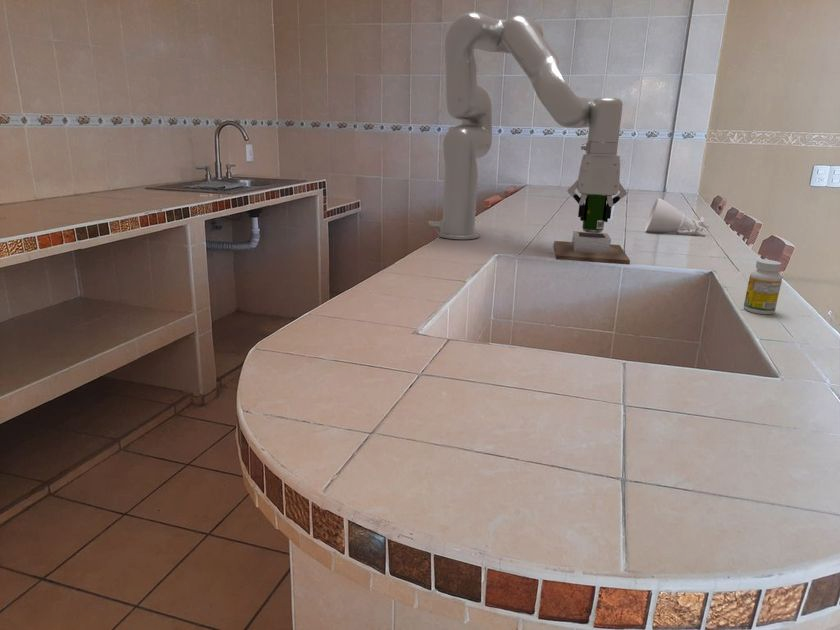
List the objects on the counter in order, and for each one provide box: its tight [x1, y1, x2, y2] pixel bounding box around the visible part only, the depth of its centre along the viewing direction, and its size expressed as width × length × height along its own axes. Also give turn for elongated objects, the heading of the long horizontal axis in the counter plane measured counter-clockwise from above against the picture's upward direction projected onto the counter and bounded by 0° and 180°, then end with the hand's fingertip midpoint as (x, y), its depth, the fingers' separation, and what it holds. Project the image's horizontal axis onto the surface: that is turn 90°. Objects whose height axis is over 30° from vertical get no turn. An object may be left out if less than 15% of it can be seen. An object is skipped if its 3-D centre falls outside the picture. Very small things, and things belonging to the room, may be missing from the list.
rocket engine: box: [644, 197, 710, 237], centre depth 194 cm, size 12×12×18 cm
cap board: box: [553, 230, 631, 265], centre depth 160 cm, size 18×20×5 cm
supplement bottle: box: [743, 259, 783, 315], centre depth 113 cm, size 5×5×10 cm
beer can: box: [581, 195, 607, 233], centre depth 157 cm, size 5×5×12 cm
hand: (593, 220), depth 158 cm, fingers closed on beer can, 5 cm apart
